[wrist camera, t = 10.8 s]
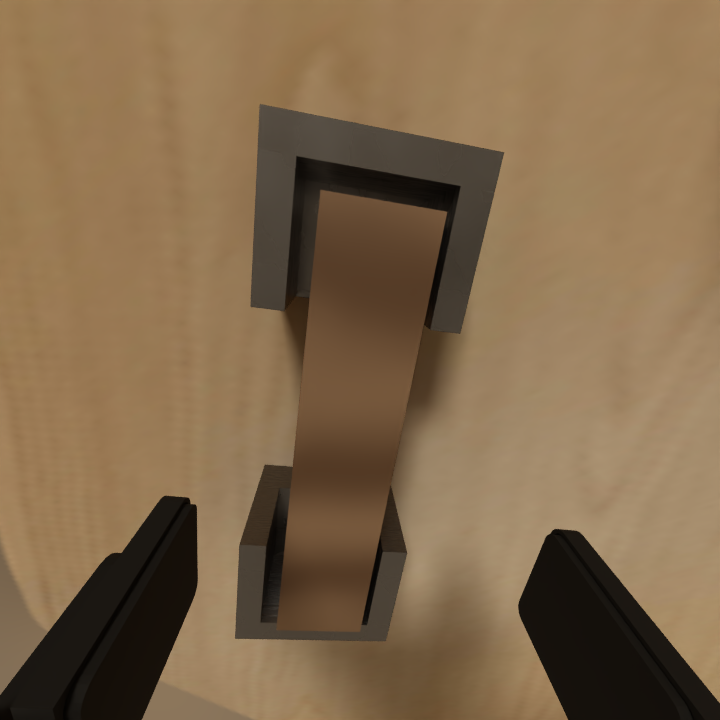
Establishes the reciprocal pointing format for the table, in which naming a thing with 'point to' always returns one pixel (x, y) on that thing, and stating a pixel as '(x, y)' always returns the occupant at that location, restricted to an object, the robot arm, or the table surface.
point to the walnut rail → (353, 400)
